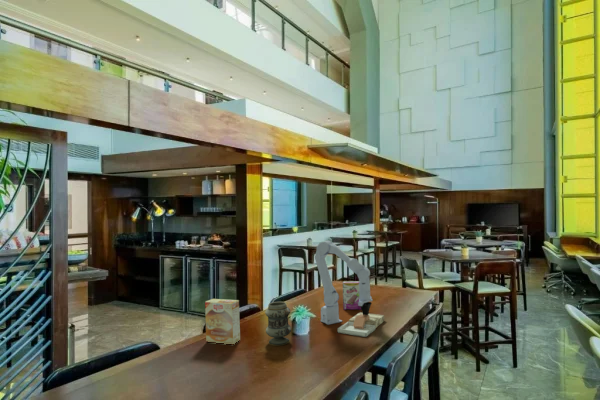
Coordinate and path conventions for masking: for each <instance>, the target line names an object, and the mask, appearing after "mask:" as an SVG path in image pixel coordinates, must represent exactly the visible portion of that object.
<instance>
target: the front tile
mask: <svg viewBox="0 0 600 400" xmlns="http://www.w3.org/2000/svg"><path fill="white" fill-rule="evenodd" d="M365 322H366V319H365V318H361V317H355V321H354V324H353V326H354V328H361V329H364V325H365Z"/></svg>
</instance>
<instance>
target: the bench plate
mask: <svg viewBox="0 0 600 400" xmlns="http://www.w3.org/2000/svg"><path fill="white" fill-rule="evenodd" d="M360 314H363V313H362V312H361V311H360V312H358V313H357V314H355V315H354V316H353V317H350V319H348V322H354V321H355V317H357V316H358V315H360ZM368 315H370V319H369V320H368V321H366V322H365V324H370V325H375V329H376V328H378V327H379V326H380V325H381V324H383V322H385V315H384V314H377V313H370V312H369V314H368Z"/></svg>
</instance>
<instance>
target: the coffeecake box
mask: <svg viewBox="0 0 600 400" xmlns="http://www.w3.org/2000/svg"><path fill="white" fill-rule="evenodd" d="M204 306H205V307H204V308H205V310H204V311H205V338H206V339H205V341H208V342H216V343H224V344H223V345H226V344H234V345H235V343H236V342H237V343H239V342H240V341H241V327H240V325H241V324H240V323H241V322H240V321H241V320H240V300H239V299H223V298H211V299H209V300H205V302H204ZM239 340H240V341H239ZM238 341H239V342H238ZM216 343H215V344H216ZM237 343H236V344H237Z"/></svg>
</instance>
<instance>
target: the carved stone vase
mask: <svg viewBox="0 0 600 400" xmlns="http://www.w3.org/2000/svg"><path fill="white" fill-rule="evenodd" d="M264 313H265V315H266V317H267V322H268V325H267V327H266V328H265V333H266V335H268V336H269V337H270V339H269V341H268V344H269V345H270V346H273V347H274V346H277V347H278V346H279V347H280V346H284V345H287V344H289V343H290V339H289V338H288V337H287V336H288V335H290V334H291V332H292V326H291V325H290V324H289V315H290V314H291V309H290V308H289V307H288V306H287V303H286V302H285V301H274V302H269V303H268V307H267V308H266V310H265V311H264Z"/></svg>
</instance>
